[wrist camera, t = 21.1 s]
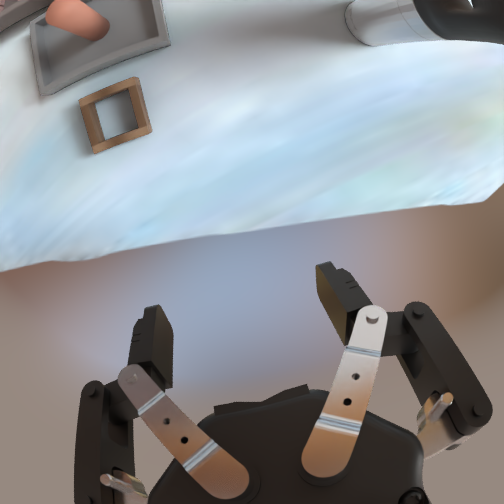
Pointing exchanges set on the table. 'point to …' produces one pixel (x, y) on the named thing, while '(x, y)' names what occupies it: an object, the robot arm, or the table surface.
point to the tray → (96, 42)
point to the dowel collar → (94, 123)
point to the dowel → (77, 19)
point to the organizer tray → (18, 10)
